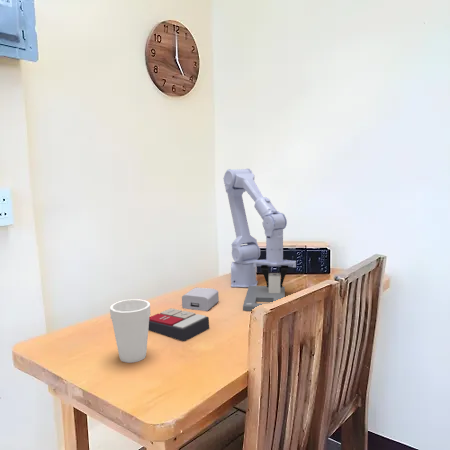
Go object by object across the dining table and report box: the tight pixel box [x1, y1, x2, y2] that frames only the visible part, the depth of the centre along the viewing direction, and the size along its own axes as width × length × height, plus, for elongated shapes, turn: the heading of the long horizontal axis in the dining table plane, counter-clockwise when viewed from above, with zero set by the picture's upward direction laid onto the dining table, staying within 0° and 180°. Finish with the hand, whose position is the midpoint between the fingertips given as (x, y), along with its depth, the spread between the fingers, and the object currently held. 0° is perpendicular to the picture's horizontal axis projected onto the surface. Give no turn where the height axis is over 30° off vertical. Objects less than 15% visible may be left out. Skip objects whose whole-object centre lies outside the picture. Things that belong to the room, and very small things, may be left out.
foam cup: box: [109, 298, 151, 364], centre depth 101 cm, size 10×9×13 cm
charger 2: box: [269, 272, 281, 293], centre depth 145 cm, size 4×4×6 cm
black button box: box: [148, 308, 210, 342], centre depth 118 cm, size 11×4×15 cm
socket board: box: [242, 285, 286, 312], centre depth 141 cm, size 13×22×2 cm, turn 172°
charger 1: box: [181, 287, 220, 312], centre depth 140 cm, size 5×9×15 cm
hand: (274, 286), depth 145 cm, fingers closed on charger 2, 4 cm apart
